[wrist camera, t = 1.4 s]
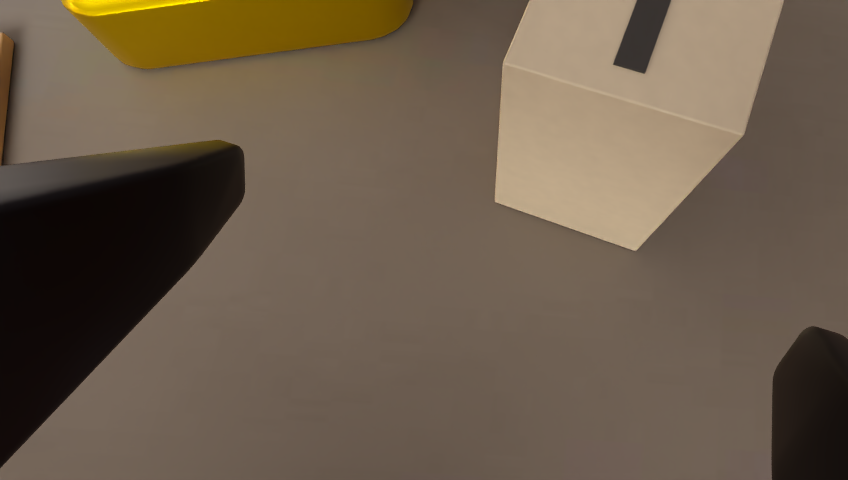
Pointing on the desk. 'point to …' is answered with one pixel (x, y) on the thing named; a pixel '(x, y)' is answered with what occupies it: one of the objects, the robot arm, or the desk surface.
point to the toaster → (625, 106)
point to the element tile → (230, 26)
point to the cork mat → (4, 82)
